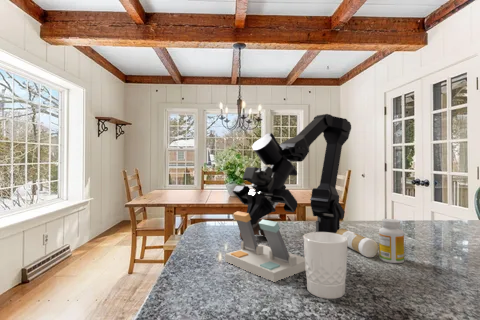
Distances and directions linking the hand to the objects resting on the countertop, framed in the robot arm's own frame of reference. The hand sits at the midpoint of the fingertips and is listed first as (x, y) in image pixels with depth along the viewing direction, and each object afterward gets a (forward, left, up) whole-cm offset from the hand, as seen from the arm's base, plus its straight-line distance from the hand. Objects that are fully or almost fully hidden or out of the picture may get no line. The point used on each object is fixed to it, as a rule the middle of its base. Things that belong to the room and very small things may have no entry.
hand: (246, 224), depth 69 cm
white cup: (-13, +17, -9) cm, 23 cm away
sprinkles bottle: (-29, -13, -7) cm, 33 cm away
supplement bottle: (-35, +2, -9) cm, 37 cm away
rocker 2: (-7, +7, -6) cm, 12 cm away
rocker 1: (-1, -1, -6) cm, 6 cm away
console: (-4, +3, -9) cm, 10 cm away
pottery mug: (-4, -20, -9) cm, 23 cm away
